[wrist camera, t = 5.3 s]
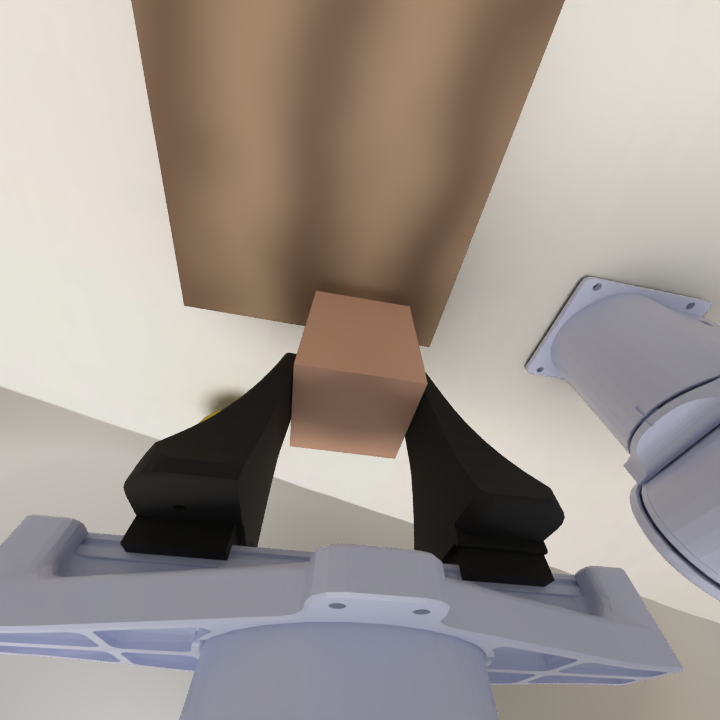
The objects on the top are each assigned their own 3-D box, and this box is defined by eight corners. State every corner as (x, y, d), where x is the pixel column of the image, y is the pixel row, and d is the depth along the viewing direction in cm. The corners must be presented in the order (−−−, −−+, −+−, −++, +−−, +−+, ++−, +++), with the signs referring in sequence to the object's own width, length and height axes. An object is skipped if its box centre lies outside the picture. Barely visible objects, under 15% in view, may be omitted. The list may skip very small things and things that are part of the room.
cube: (409, 306, 16) (427, 383, 11) (387, 375, 19) (395, 458, 14) (316, 290, 15) (293, 363, 11) (309, 364, 18) (289, 446, 14)
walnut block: (536, 14, 13) (568, -9, 11) (423, 328, 22) (429, 347, 20) (151, -99, 11) (105, -150, 9) (201, 289, 21) (184, 305, 19)
